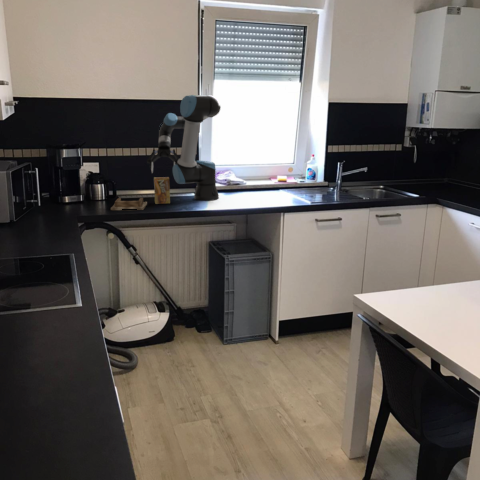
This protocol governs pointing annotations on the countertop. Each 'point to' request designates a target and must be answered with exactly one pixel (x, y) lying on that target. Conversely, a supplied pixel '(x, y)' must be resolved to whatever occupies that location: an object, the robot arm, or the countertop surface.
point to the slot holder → (129, 204)
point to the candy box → (162, 190)
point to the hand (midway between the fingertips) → (163, 171)
